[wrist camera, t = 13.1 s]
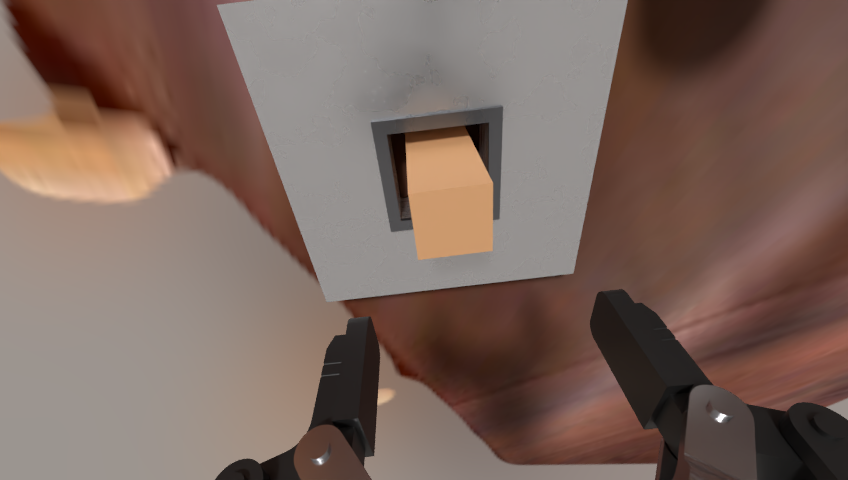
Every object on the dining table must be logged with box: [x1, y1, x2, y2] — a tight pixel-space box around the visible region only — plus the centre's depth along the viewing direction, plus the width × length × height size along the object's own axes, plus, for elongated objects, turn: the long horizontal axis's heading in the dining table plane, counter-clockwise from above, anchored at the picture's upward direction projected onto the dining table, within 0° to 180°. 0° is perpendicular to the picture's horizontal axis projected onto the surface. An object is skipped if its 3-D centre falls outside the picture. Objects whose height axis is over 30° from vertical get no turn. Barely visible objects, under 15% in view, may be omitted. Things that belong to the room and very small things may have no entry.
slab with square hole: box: [217, 0, 628, 302], centre depth 23 cm, size 20×20×3 cm
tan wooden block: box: [405, 126, 493, 260], centre depth 21 cm, size 4×4×9 cm
